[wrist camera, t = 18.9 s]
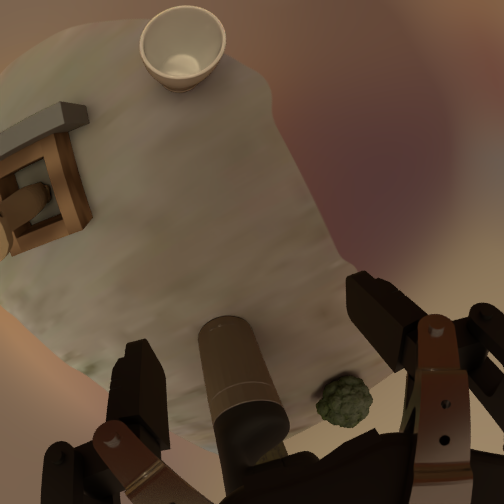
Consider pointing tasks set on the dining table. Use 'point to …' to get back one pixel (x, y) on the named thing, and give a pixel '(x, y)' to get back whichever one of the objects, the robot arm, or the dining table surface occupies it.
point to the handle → (20, 212)
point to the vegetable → (345, 402)
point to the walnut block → (64, 186)
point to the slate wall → (42, 126)
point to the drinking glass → (182, 46)
